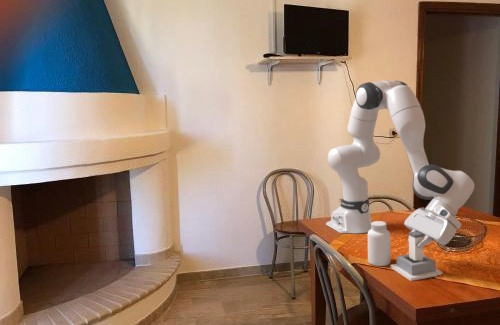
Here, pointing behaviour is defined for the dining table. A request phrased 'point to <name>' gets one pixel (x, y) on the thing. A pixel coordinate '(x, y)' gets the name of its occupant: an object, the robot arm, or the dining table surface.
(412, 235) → the plug
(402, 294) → the dining table surface
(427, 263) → the socket
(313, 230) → the dining table surface
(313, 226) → the dining table surface
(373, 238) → the pill bottle
